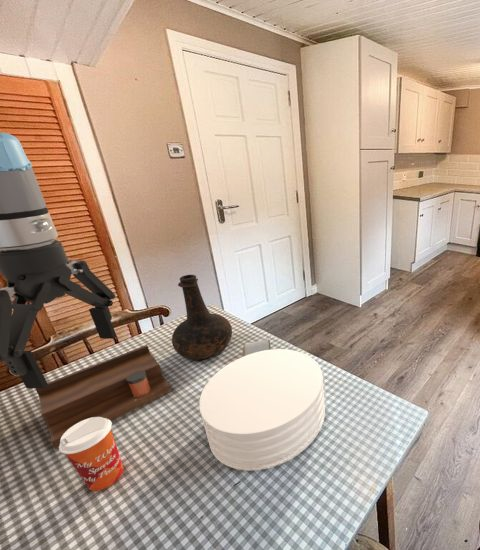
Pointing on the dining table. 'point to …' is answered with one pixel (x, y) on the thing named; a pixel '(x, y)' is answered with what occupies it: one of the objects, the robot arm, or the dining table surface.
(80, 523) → the dining table surface
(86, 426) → the paper cup
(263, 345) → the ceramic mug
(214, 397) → the plate stack
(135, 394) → the small spice jar
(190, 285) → the glass bottle
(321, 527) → the dining table surface
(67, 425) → the spice rack
